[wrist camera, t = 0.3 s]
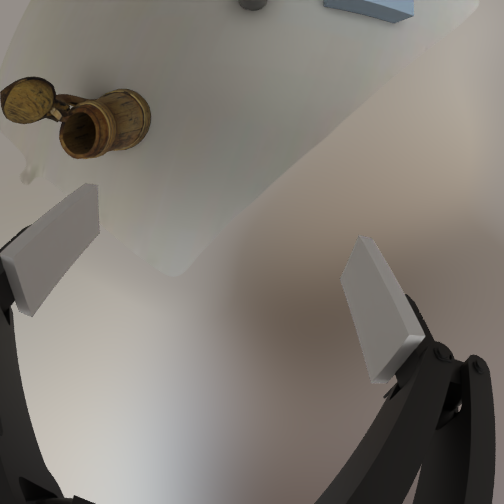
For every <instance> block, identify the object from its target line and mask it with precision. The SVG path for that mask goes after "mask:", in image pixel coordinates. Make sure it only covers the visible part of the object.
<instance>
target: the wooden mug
mask: <svg viewBox="0 0 504 504" xmlns="http://www.w3.org/2000/svg"><path fill="white" fill-rule="evenodd" d="M0 99H1V107H2V111H3V114H4V115H5V117H6V118H7V119H9V120H10V121H12V122H15V123H20V124H27V123H33V122H36V121H39V120H41V119H44V118H48V119H52V120H54V121H56V122H58V121H60V122H62V124H61V128H60V134H59V139H60V142H61V145H62V147H63V149H64V150H65V151H66V153H67V154H68V155H70V156H71V157H73V158H76V159H81V158H83V159H88V158H96V157H99V156H102V155H104V154H105V153H106V152H108V151H112V150H114V151H115V150H126V149H128V148H131V147H133V146H135V145H136V144H138V143H139V142H140V141H141V140H142V139H143V138H144V137H145V135H146V133H147V132H148V129H149V126H150V118H151V114H150V109H149V106H148V104H147V102H146V101H145V100H144V99H143V98H142V97H141V96H140V95H139V94H138V93H136V92H134V91H131V90H129V89H117V90H115V91H112V92H109V93H106V94H105V95H103V96H101V97H100V98H99V99H91V100H90V99H85V98H81V97H77V96H73V95H68V94H59V95H56V92H55V89H54V86H53V85H52V84H51V83H50V82H48V81H47V80H45V79H43V78H40V77H26V78H22V79H19V80H17V81H15V82H13V83H12V84H10V85H9V86H7V87H6V88H4V89H3V90H2V91H1V92H0ZM69 105H71V106H74V107H72V108H71V109H70V108H69V107H70V106H69Z"/></svg>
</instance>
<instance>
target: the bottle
mask: <svg viewBox="0 0 504 504" xmlns="http://www.w3.org/2000/svg"><path fill="white" fill-rule="evenodd" d="M239 3H240V5H241V6H242V7H243V8H245V9H247V10H250V11H255V10H259V9H261V8H263V7H264V6H265V5H266V3H267V0H239Z"/></svg>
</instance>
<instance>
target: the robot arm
mask: <svg viewBox="0 0 504 504" xmlns="http://www.w3.org/2000/svg"><path fill="white" fill-rule="evenodd" d="M99 233H100V230H99V209H98V185H94V184H87V183H85V184H84V185H83V186H81V187H80V188H78V189H77V190H76V191H74V192H73V193H71V194H70V195H69V196H67V197H66V198H65V199H63V200H62V201H61V202H59V203H58V204H57V205H56V206H54V207H53V208H52V209H50V210H49V211H48V212H47V213H45V214H44V215H43V216H42V217H40V218H39V219H38V220H37V221H36V222H34V223H33V224H31V225H29V226H27V227H25V228H24V229H22V230H21V231H20V232H19V233H18V234H17V235H16V236H15V237H13V238H12V239H11V241H9V242H8V243H7V244H5V245H4V246H3V247H2V248H1V249H0V504H95V503H92V502H90V501H87V500H85V499H82V498H80V497H78V496H75V495H74V497H73V499H72V498H64V496H63V494H62V492H61V490H60V487H59V486H58V484H57V482H56V481H55V479H54V477H53V476H52V475H51V473H50V472H49V471H48V469H47V467H46V465H45V463H44V460H43V458H42V455H41V452H40V449H39V446H38V443H37V440H36V437H35V434H34V430H33V427H32V424H31V421H30V416H29V413H28V409H27V405H26V400H25V396H24V391H23V387H22V381H21V376H20V370H19V365H18V358H17V350H16V342H15V333H14V322H13V312H12V309H11V305H12V303H13V302H14V301H15V302H16V305H17V307H18V310H19V312H21V313H24V314H26V315H28V316H31V317H33V316H34V314H35V313H36V311H37V310H38V309H39V307H40V306H41V304H42V303H43V302H44V300H45V299H46V297H47V296H48V295H49V294H50V292H51V291H52V290H53V288H54V287H55V286H56V285H57V283H58V282H59V281H60V279H61V278H62V277H63V276H64V274H65V273H66V272H67V271H68V269H69V268H70V267H71V266H72V265H73V263H74V262H75V261H76V260H77V259H78V257H79V256H80V255H81V254H82V253H83V251H84V250H85V249H86V248H87V247H88V246H89V244H90V243H91V242H92V241H93V240H94V239H95V238H96V237H97V236H98V234H99ZM340 281H341V284H342V286H343V290H344V293H345V295H346V299H347V302H348V305H349V308H350V311H351V315H352V318H353V321H354V324H355V327H356V331H357V334H358V338H359V341H360V345H361V348H362V352H363V355H364V359H365V363H366V366H367V369H368V373H369V378H370V381H371V383H388V381H389V380H390V379H391V378H392V377H393V376H394V375H396V378H397V381H398V382H397V383H396V384H395V385H394V386H393V387H392V388H391V389H390V390H389V391H388V392H387V393H386V394H385V396H384V398H386V397H387V396H388V397H387V399H386V401H385V402H384V404H383V406H382V408H381V409H380V411H379V413H378V415H377V416H376V418H375V420H374V421H373V423H372V425H371V426H370V428H369V430H368V431H367V433H366V434H365V436H364V437H363V439H362V441H361V442H360V444H359V445H358V447H357V448H356V450H355V451H354V453H353V454H352V455H351V457H350V458H349V460H348V461H347V463H346V464H345V465H344V467H343V468H342V469H341V471H340V472H339V474H338V475H337V476H336V477H335V479H334V480H333V481H332V483H331V484H330V485H329V487H328V488H327V489H326V490H325V491H324V493H323V494H322V495H321V496H320V498H319V499H318V500H317V501H316V502H315V503H314V504H402V503H403V501H404V499H405V497H406V495H407V493H408V492H409V489H410V487H411V485H412V484H413V481H414V479H415V477H416V475H417V473H418V471H419V469H420V466H421V464H422V466H421V471H420V476H419V480H418V485H417V489H416V493H415V497H414V500H413V504H492V497H493V488H494V475H495V416H494V404H493V393H492V385H491V377H490V371H489V368H488V366H487V364H486V362H485V361H484V360H483V359H482V358H480V357H479V356H477V355H470V357H469V358H468V359H467V360H466V361H465V362H461V361H458V360H455V359H454V356H453V354H452V352H451V351H450V349H449V348H448V347H447V346H445V345H444V344H442V343H440V342H436V341H434V339H433V337H432V335H431V333H430V331H429V329H428V327H427V325H426V323H425V321H424V320H423V317H422V315H421V313H419V309H418V307H417V306H416V304H415V302H414V301H413V300H412V299H411V298H410V297H409V296H408V295H407V294H404V292H403V291H402V289H401V287H400V285H399V283H398V281H397V280H396V278H395V276H394V274H393V272H392V271H391V269H390V267H389V266H388V264H387V262H386V260H385V259H384V257H383V255H382V254H381V252H380V250H379V249H378V247H377V246H376V244H375V242H374V240H373V239H372V238H370V237H366V236H361V235H359V236H358V238H357V241H356V243H355V246H354V248H353V251H352V253H351V255H350V257H349V260H348V262H347V265H346V267H345V269H344V272H343V273H342V276H341V278H340ZM461 404H462V407H461V410H460V411H459V412H458V406H460V405H461Z"/></svg>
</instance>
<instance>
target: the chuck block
mask: <svg viewBox="0 0 504 504" xmlns="http://www.w3.org/2000/svg"><path fill="white" fill-rule="evenodd" d="M324 7H330V8H336V9H341V10H345V11H350V12H354V13H359V14H363V15H367V16H371V17H374V18H378V19H381V20H385V21H388V22H391V23H396V22H399V21H402V20H404V19H407V18H409V17H412V16H414V1H413V0H324Z"/></svg>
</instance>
